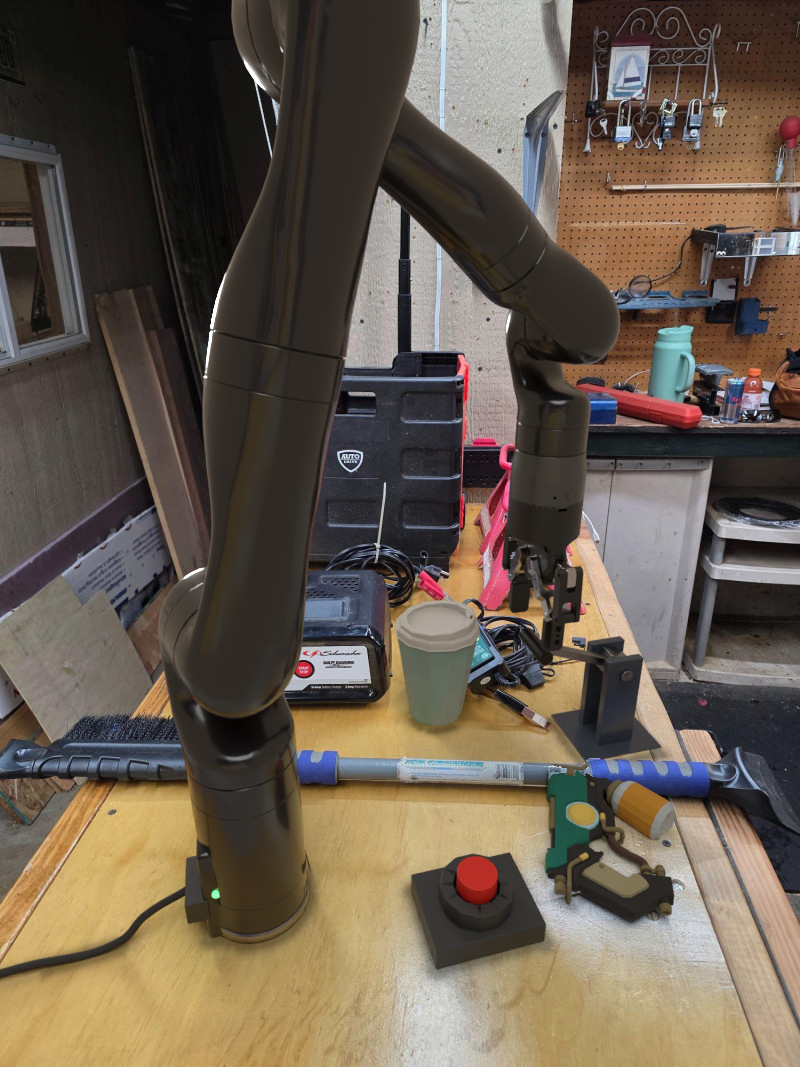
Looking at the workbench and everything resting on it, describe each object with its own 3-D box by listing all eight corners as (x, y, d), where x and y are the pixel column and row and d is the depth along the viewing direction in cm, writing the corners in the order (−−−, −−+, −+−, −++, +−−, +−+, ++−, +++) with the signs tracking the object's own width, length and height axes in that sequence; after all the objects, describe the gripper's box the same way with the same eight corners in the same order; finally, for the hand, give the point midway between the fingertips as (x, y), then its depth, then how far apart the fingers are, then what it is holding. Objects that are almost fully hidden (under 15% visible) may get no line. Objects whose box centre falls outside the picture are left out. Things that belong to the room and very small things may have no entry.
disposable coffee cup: (386, 734, 86) (384, 631, 80) (404, 685, 96) (403, 589, 90) (471, 746, 84) (475, 640, 78) (480, 694, 94) (484, 597, 88)
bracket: (584, 769, 80) (596, 677, 75) (550, 721, 88) (558, 635, 83) (660, 754, 83) (675, 663, 78) (619, 709, 91) (631, 624, 86)
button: (464, 908, 60) (465, 894, 59) (451, 874, 63) (451, 860, 62) (503, 899, 60) (504, 884, 60) (488, 866, 64) (488, 852, 63)
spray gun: (665, 951, 60) (502, 888, 67) (690, 814, 73) (552, 772, 80) (669, 919, 58) (502, 857, 65) (694, 784, 72) (553, 743, 78)
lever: (535, 666, 75) (544, 648, 74) (515, 641, 80) (523, 623, 79) (631, 685, 80) (640, 668, 79) (606, 660, 84) (614, 643, 84)
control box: (436, 970, 58) (436, 937, 57) (410, 891, 65) (410, 860, 64) (544, 941, 61) (548, 909, 59) (508, 868, 68) (510, 837, 66)
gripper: (486, 473, 76) (479, 603, 82) (543, 518, 63) (529, 669, 69) (548, 468, 77) (537, 596, 84) (616, 511, 65) (597, 659, 71)
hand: (534, 629), depth 76 cm, fingers open, 8 cm apart
